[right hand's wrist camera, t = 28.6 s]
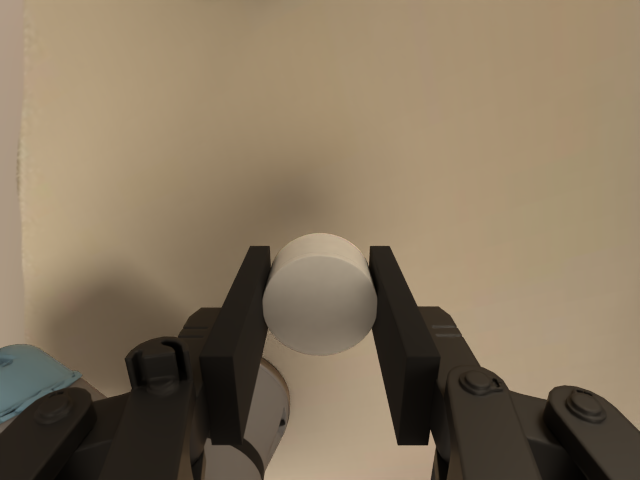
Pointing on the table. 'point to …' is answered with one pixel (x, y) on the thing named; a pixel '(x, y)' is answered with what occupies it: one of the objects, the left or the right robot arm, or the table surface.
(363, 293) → the cap
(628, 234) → the table surface
